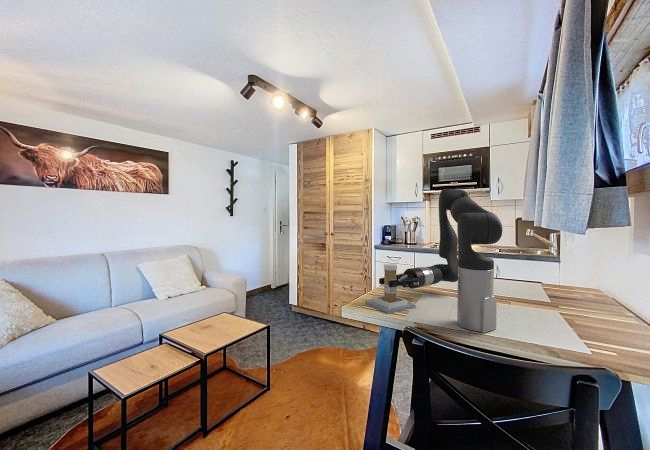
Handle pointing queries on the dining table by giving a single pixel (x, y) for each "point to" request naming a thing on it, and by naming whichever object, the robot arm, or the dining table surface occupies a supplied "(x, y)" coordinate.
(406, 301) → the grey stepped square plate
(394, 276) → the sprinkles bottle
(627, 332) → the dining table surface
